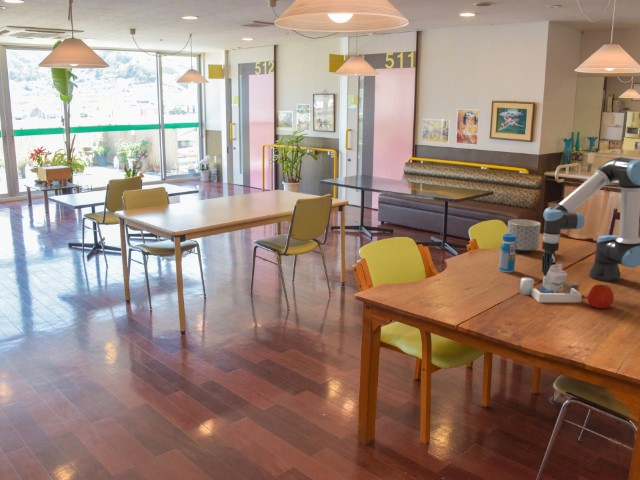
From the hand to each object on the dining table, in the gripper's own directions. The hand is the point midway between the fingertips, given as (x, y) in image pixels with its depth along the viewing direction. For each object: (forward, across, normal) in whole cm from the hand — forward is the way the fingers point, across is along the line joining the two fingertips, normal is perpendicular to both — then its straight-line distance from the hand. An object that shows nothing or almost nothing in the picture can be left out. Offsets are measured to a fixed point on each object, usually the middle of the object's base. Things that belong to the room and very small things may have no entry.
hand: (545, 287), depth 300 cm
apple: (+2, +22, +17) cm, 28 cm away
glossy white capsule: (+2, +3, -11) cm, 11 cm away
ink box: (+1, +4, +1) cm, 4 cm away
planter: (+2, -78, +16) cm, 79 cm away
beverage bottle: (+2, -35, -8) cm, 36 cm away
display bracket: (+2, +11, 0) cm, 11 cm away
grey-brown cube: (+2, +3, +11) cm, 12 cm away
